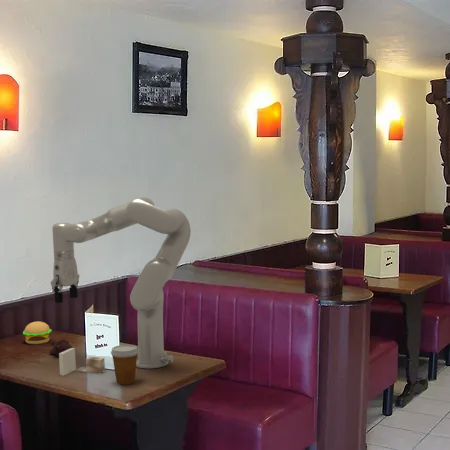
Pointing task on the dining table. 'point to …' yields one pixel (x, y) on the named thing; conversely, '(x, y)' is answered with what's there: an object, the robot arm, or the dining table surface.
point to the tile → (67, 361)
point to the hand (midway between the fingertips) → (66, 300)
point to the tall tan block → (93, 365)
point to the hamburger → (37, 333)
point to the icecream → (59, 346)
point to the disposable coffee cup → (125, 363)
